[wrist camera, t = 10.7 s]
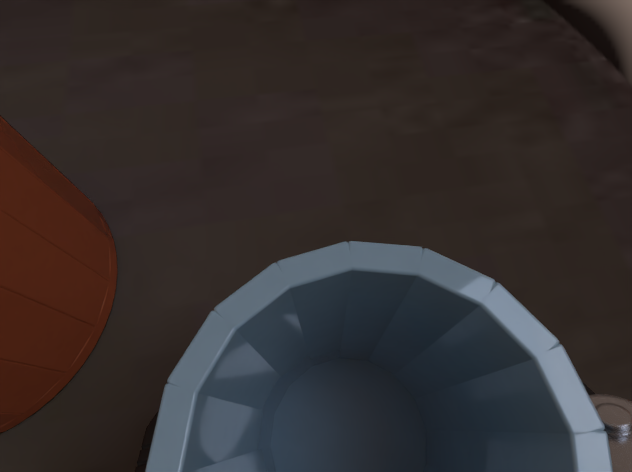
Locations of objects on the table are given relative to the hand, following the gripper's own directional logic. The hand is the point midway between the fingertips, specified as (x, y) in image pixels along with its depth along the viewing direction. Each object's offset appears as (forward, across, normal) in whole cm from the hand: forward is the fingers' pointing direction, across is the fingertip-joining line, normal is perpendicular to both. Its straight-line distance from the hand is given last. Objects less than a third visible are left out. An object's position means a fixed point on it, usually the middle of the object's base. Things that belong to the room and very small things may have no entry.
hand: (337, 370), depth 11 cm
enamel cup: (+2, 0, -5) cm, 5 cm away
